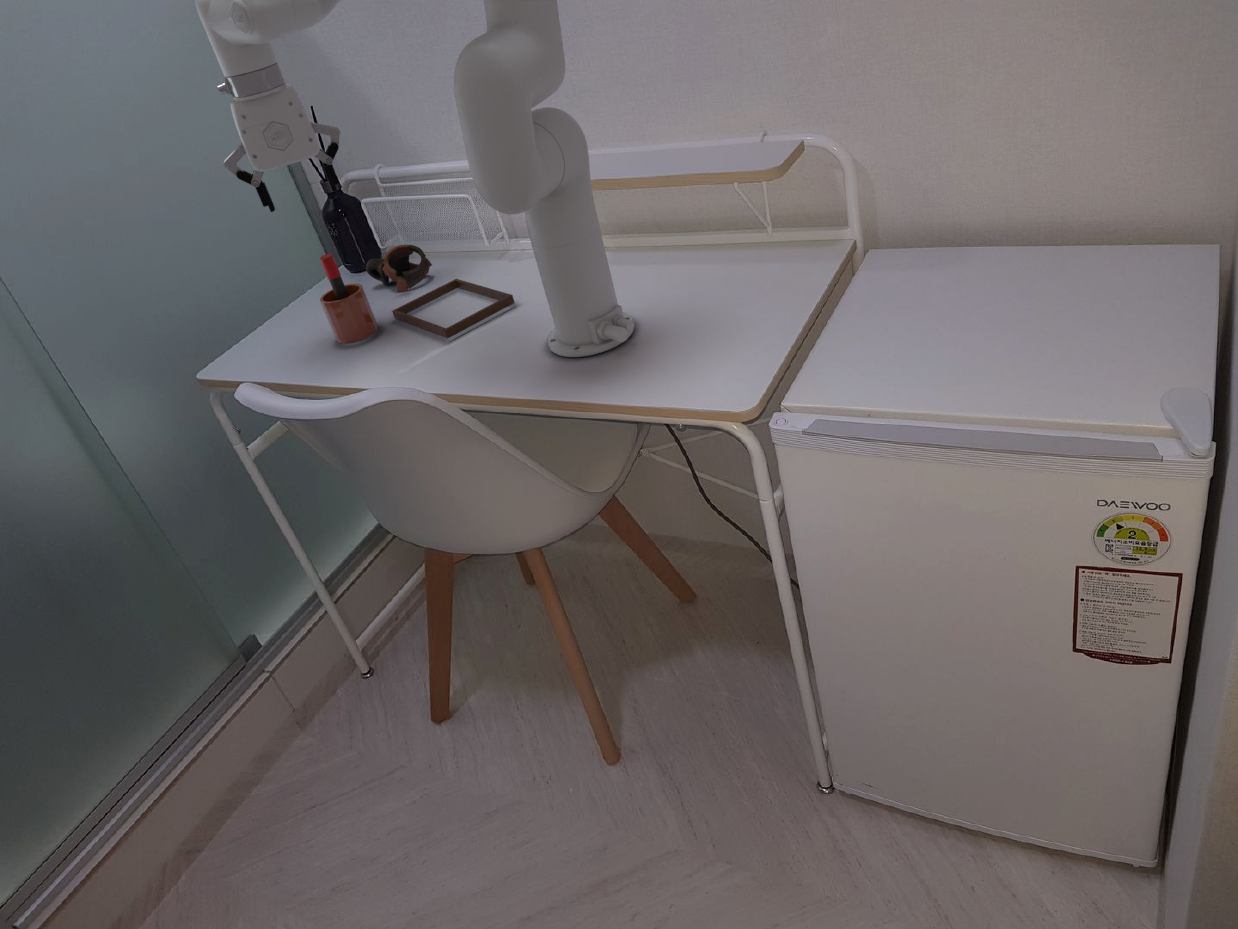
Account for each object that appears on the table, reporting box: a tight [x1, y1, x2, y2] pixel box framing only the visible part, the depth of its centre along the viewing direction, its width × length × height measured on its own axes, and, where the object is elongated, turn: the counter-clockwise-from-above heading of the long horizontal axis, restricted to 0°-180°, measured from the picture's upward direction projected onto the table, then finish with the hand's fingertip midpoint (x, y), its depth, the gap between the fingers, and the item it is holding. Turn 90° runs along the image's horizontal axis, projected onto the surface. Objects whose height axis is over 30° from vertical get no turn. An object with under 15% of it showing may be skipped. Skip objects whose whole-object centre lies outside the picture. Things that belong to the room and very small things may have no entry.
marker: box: [319, 253, 349, 300], centre depth 148 cm, size 2×2×14 cm
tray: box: [391, 278, 517, 343], centre depth 151 cm, size 17×13×2 cm
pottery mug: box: [365, 244, 433, 293], centre depth 166 cm, size 12×10×8 cm
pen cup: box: [319, 283, 379, 344], centre depth 150 cm, size 7×7×8 cm
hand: (303, 199), depth 140 cm, fingers open, 9 cm apart
